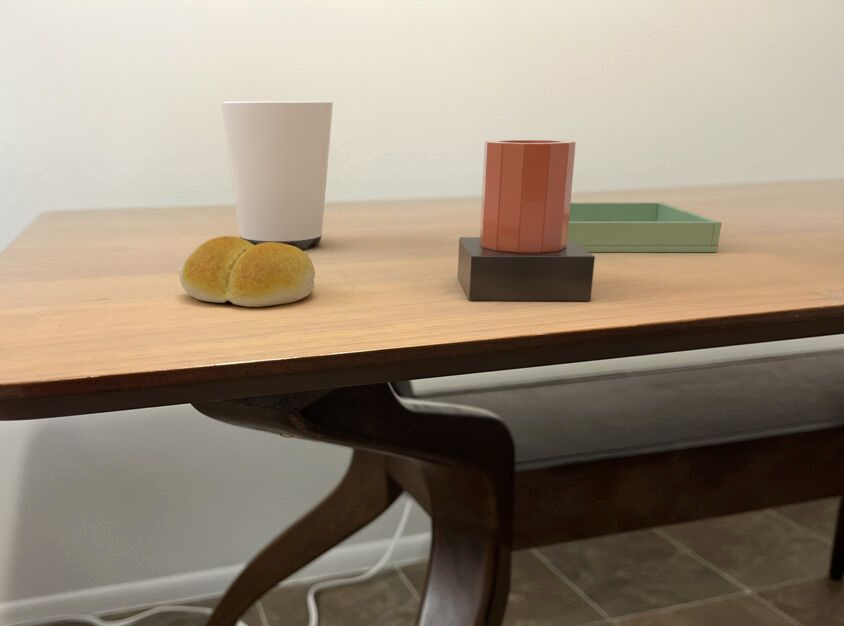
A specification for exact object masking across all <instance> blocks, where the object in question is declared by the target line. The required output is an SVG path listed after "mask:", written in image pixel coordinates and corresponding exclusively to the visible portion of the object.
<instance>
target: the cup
mask: <svg viewBox="0 0 844 626" xmlns="http://www.w3.org/2000/svg"><path fill="white" fill-rule="evenodd" d="M333 105H334V103H333V101H332V100H241V101H240V100H231V101H229V100H227V101H222V102H221V108H222V109H221V110H222V115H223V116H222V117H223V123H224V130H225V131H224V132H225V137H226V138H225V139H226V145H227V151H228V153H227V154H228V159H229V168H230V174H231V182H232V188H233V197H234V201H235V203H234V204H235V210H236V218H237V225H238V232H239V238H242V239H244V240H246V241H248V242H250V243H252V244H253V245H257V244H261V243H265V242H276V243H283V244H288V245H292V246H295V247H297V248H299V249H301V250H302V251H304V250H306V249H308V248H309V247H310V246H312V245H313V246H314V245H318V244H319V243H320V241H321V240H322V236H323V225H324V215H325V214H324V213H325V202H326V188H327V178H328V177H327V176H328V166H329V153H330V141H331V131H332V130H331V129H332V127H331V126H332V117H333V116H332V115H333Z"/></svg>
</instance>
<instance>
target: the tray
mask: <svg viewBox="0 0 844 626" xmlns="http://www.w3.org/2000/svg"><path fill="white" fill-rule="evenodd" d="M721 228H722V222H721V221H718V220H715V219H713V218H710V217H706V216H704V215H701V214H698V213H695V212H692V211H690V210H686V209H683V208H681V207H677V206H675V205H671V204H668V203H665V202H662V201H658V202H657V201H656V202H653V201H652V202H650V201H649V202H648V201H645V202H641V201H640V202H639V201H637V202H636V201H635V202H634V201H633V202H632V201H631V202H629V201H627V202H623V201H622V202H619V201H617V202H616V201H615V202H613V201H612V202H609V201H608V202H607V201H606V202H602V201H601V202H597V201H596V202H595V201H594V202H591V201H590V202H583V201H582V202H581V201H580V202H578V201H577V202H572V201H571V203H570V214H569V226H568V238H569V239H570V240H572V241H573V242H574V243H576V244H577V245H579V246H580V247H582V248H583V249H585V250H586V251H587V252H589V253H718V248H719V241H720V234H721V230H722V229H721Z"/></svg>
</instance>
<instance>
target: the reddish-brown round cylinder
mask: <svg viewBox="0 0 844 626" xmlns="http://www.w3.org/2000/svg"><path fill="white" fill-rule="evenodd" d="M576 143H577V142H576V141H572V140H565V139H564V140H563V139H562V140H561V139H496V140H495V139H494V140H485V141H484V145H483V146H484V147H483V149H484V150H483V167H482V188H481V204H480V205H481V207H480V224H479V225H480V226H479V228H480V229H479V237H480V245H481V246H482V247H483V248H486V249H490V250H495V251H503V252H514V253H546V252H555V251H560V250H562V249H564V248H566V247H567V238H568V226H569V214H570V203H571V202H572V190H573V179H574V167H575V155H576V145H577V144H576Z"/></svg>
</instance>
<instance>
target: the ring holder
mask: <svg viewBox="0 0 844 626" xmlns="http://www.w3.org/2000/svg"><path fill="white" fill-rule="evenodd" d="M595 261H596V256H595V255H593V254H592V253H591V252H587V251H586V250H585V249H583V248H582V247H580V246H579V245H577V244H576V243H574V242H573V241H572V240H570V239H569V238H567V247H566V248H564V249H562V250H560V251H555V252H546V253H514V252H503V251H495V250H490V249H486V248H483V247H482V246H481V245H480V236H461V237H460V236H459V238H458V259H457V278H458V280H459V282H460V284H461V286H462V288H463V291H464V293H465V295H466V296H467V298H468V301H470V302H471V301H472V302H473V301H476V302H477V301H479V302H481V301H482V302H485V301H489V302H491V301H492V302H493V301H494V302H497V301H499V302H501V301H504V302H590V301H591V299H592V291H593V281H594V280H593V279H594V270H595Z"/></svg>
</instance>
